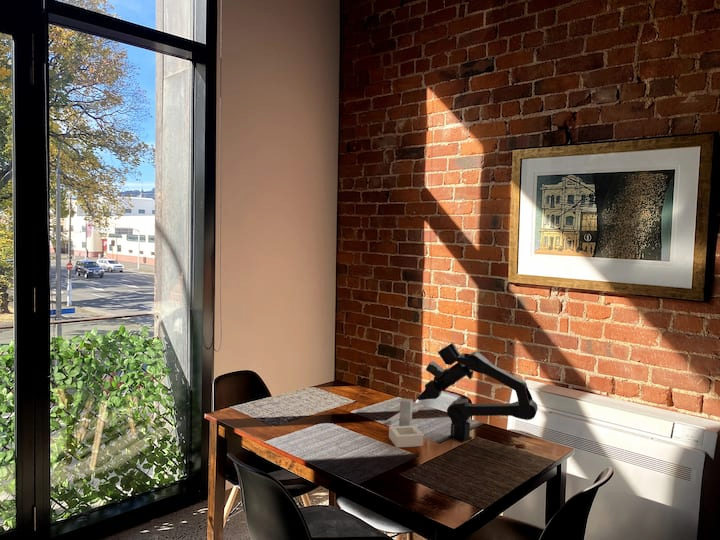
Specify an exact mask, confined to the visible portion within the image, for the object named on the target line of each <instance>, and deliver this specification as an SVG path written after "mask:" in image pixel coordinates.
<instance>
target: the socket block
mask: <svg viewBox="0 0 720 540" xmlns="http://www.w3.org/2000/svg"><path fill="white" fill-rule="evenodd" d="M424 437H425V435H424V434H423V433H422V432H421V430H420V429H419V428H418V427H417V426H416V425H412V426H399V425H398V426H389V428H388V439H389V440H390V442H392V443H393V445H394V446H395V447H396V448H410V447H413V448H414V447H424Z"/></svg>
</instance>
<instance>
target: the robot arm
mask: <svg viewBox="0 0 720 540" xmlns="http://www.w3.org/2000/svg"><path fill="white" fill-rule="evenodd" d="M437 354H438V355H439V357H440V358H441V360H442V361H443V362H444V364H445V365H447V366H450V367H449V368H445V369H444V368H443V367H442V366H441V365H439V364H438V363H437V362H436V361H434V360H432V361H430V363H429V364H428V365H427V366H426V368H425V370H426V372H427V373H430V374H431V375H432V376H433V379H431V380H429V381H428V382H427V383H426V384H424V390H423V391H422V392H421V393H420V394H419V395H418V396H417V397H416V399H417V400H418V401H423V400H436V399H437V398H439V397H440V396H441V395H442V393H443V392H445V391H446V390H447V389H449V388H450V387H451V386H454V385H455V384H456V383H457V382H459V381H461V380H462V379H463V378H465V377H467V378H468V379H469V380H471V379H472V378H473V377H474V376H473V375H474V372H475V373H478V374H483V375H486V376H488V377H490V378H492V379H493V380H495V381H497V382H499V383H501V384H503V385H505V386H506V387H508V388H510V389H512V390H513V391H515V394H516V397H517V398H516V399H517V400H516V401H514V402H511V403H471V402H469V398H457V399H456V400H453V401H452V402H451V404H450V405H449V406H448V407H447V408H446V414H447V416H448V417H449V419H450V421H451V424H450V435H448V438H450V439H452V440H455V441H457V442H460V443H464V442H466V441H469V440H471V439H473V436H470V432H471V423H470V422H469V421H470V419H471V417H485V416H486V417H491V416H492V417H493V416H495V417H496V416H497V417H499V416H501V417H505V416H509V417H510V416H511V417H514V418H516V419H520V420H525V421H531V420H533V419H534V418H536V415H537V412H538V404H537V402H536V401H535V400H534V398H533V397H532V394H531V391H530V390H529V387H528V385H527V382H526V381H525V380H523V379H520V378H518V377H516V376H515V375H513V374H510V373H509V372H507V371H505V370H503V369H502V368H500V367H499V366H496V365H494V364H493V363H491V362H490V360H489V359H487V358H486V357H485V356H484V355H483V354H481V353H480V352H477V351H474V352H471V353H463V352H462V353H460V351H459V350H458V348H457V346H456V345H455V343H454V342H451V343H450V344H448V345H446V346H445V347H443V348H441V349H439V351H437ZM454 363H455V364H454ZM451 365H452V366H451Z"/></svg>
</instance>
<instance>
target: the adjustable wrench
mask: <svg viewBox="0 0 720 540" xmlns="http://www.w3.org/2000/svg"><path fill="white" fill-rule="evenodd" d="M417 412H419V406H418V405H415V406H413V407H412V413H417ZM399 419H400V411H399V412H398V413H396V414H394V415H393V416H391V417H390V418H388V419H387V420H385V425H386V426H391V425H393V424H395V423H396V422H399Z"/></svg>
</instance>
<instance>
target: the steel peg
mask: <svg viewBox="0 0 720 540" xmlns="http://www.w3.org/2000/svg"><path fill="white" fill-rule="evenodd" d="M413 401H414V399H412V398H404V397H402V398H401V399H400V401H399V412H400V419H399V420H398V422H399V423H398V426H413V424H412V423H413V412H412V408H413Z"/></svg>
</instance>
